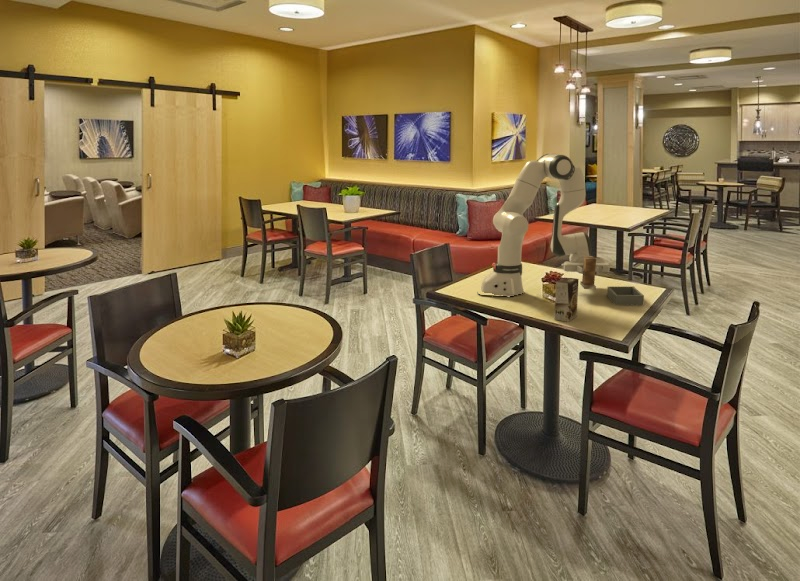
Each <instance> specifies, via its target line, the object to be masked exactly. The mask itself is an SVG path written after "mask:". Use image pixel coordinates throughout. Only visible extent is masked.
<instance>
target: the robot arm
mask: <svg viewBox="0 0 800 581" xmlns="http://www.w3.org/2000/svg"><path fill="white" fill-rule="evenodd" d="M546 178H549V179H553V180H554V179H556V180H558V181H559V185H560V198H559V200H558V202H557V203H555V205H554V210H553V219H552V221H553V222H552V232H551V242H550V250H551V254H553V255H554V256H556V257H558V258H560V257H565V256H567V255H568V256H569V260H567V261H566V260H565V261H564V262H563V263H561V266H562V267H563V271H564V272H566V273H567V272H568V273H569V272H571V273H578V274H580V275H581V274H582V275H583V272H584V270H585V269H584V268H583V264H584V257H593V256H592V255H591V253H592V250H593V249H592V248H593V246H592V245H593V244H592V240H591V238H590V236H589V235H588V234H587V233H586V232H583V231H582V232H575V233H569V234H563V235H562V229H563V220H564V218H565V217H566V216H567V215H568V214H569V213H571V212H572V211H574V210H576V209H578V208H579V207H581V206H582V205H583V204H584V202H585V201H586V197H587V194H586V192H587V190H586V183H585V178H584V174H583V170H582V167H580V166H577V165H574V164H573V161H572V160H571V159H570V158H569V157H568V156H567V155H564V154H558V153H546V154H543V155H542V156H540V157H539V158H538V159H537V160H529V161H527V162H526V163H525V164H524V165H523V167H522V169H521V170H520V172H519V174H518V175H517V178H516V181H515V183H514V184H513V187H512V188H511V191H510V193H509V195H508V197H507V199H505V202H504V203H503V204H502V206H501V207H500V209H499V210H498V211H497V212H496V213H495V214H494V215H493V218H492V224H493V226H494V228H495V229H496V230H497V231H498V232H499V233H501V237H500V238H501V239H500V242H499V245H498V246H497V262H496V263H495V262H493V263H492V265H491V267H492V270H493V271H491V272H490V273H489V274H488V275H487V276H485V277H483V279H482V282H481V285H480V287H481V291H482V292H484V293H492V294H494V295H503V296H514V295H517V296H519V295H518V294H521V295H523V294H525V291H524V286H523V281H522V280H523V279H522V276H523V263H522V250H523V249H522V248H523V244H524V243H523V242H524V240H525V235H526V234H527V232H528V230H529V226H530V225H529V221H528V219H527V218H526V217H525V216H524V213H525V212H526V210H528V208H530V207H531V206H532V205H533V202H534V200H535V199H536V195H537V193H538V191H539V189H540V187H541V185H542V182H543V181H544V180H545V179H546ZM594 257H595V258H596V269H595V274H596V273H610V270H611V269H610V268H611V265H610V263H609V262H608V261H607V260H604V258H603V257H599V256H598V257H597V256H594ZM522 293H523V294H522ZM514 297H515V296H514Z"/></svg>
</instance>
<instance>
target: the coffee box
mask: <svg viewBox="0 0 800 581" xmlns="http://www.w3.org/2000/svg"><path fill="white" fill-rule="evenodd" d="M578 293H579V278H573V277H562V278H560V279H558V280H557V281H556V282H555V298H554V302H555V303H554V318H553V319H554V320H556V321H560V322H561V321H562V322H566V321H567V322H566V323H569V322H571V321H572V320H573V319H575V318H576V317H577V316H578V315H577V314H578V296H579V294H578Z"/></svg>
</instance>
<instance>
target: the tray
mask: <svg viewBox="0 0 800 581" xmlns="http://www.w3.org/2000/svg"><path fill="white" fill-rule="evenodd" d="M606 290H607V291H606V296H607V298H610V301H611V302H612V303H613V304H614V305H615V306H644V301H645V300H644V299H645V294H643V293H642V292H641V291H639V290H638V289H637V288H636V287H635V286H631V285H630V286H607V288H606Z"/></svg>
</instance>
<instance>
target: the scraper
mask: <svg viewBox="0 0 800 581" xmlns="http://www.w3.org/2000/svg"><path fill="white" fill-rule="evenodd" d="M595 257H596V256H592V257H584V264H583V268H584V269H585V270H584V272H583V274H582V279H581V281H580V282H579V284H580V285H581V287H582V288H583V290H596V289H597V286H596V285H595V280H596V279H595V278H596V272H595V269H596V258H595Z"/></svg>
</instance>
